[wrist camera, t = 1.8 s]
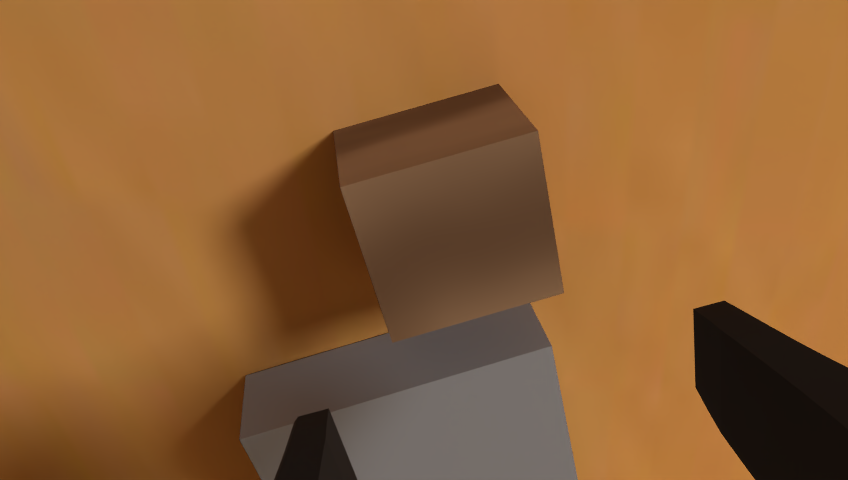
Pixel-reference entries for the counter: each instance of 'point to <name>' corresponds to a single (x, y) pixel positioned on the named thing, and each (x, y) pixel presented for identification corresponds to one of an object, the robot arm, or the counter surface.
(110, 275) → the counter surface
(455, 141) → the walnut block
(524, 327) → the slate base block
